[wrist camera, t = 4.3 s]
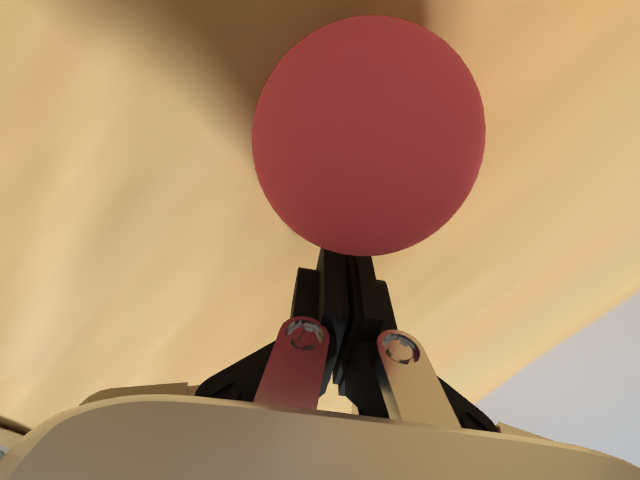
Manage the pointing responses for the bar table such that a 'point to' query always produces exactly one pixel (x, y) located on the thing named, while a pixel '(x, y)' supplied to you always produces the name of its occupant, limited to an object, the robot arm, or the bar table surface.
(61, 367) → the bar table surface
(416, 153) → the ball
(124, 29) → the bar table surface
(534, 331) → the bar table surface
